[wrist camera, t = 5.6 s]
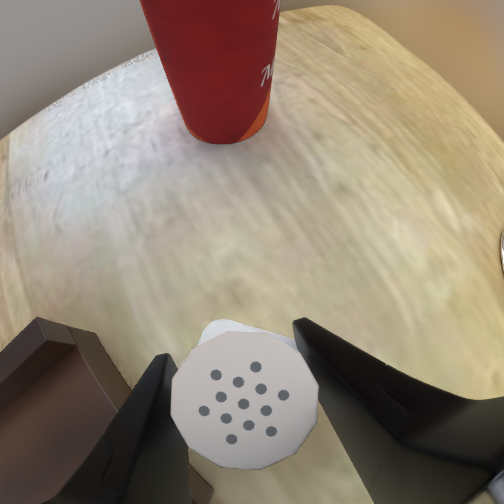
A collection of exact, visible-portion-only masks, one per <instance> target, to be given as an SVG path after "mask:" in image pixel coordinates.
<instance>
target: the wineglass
mask: <svg viewBox="0 0 504 504" xmlns="http://www.w3.org/2000/svg"><path fill="white" fill-rule="evenodd" d="M500 249H501V260H502V267H503V270H504V230H503V233H502V237H501V246H500Z"/></svg>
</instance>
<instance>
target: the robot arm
mask: <svg viewBox="0 0 504 504" xmlns="http://www.w3.org/2000/svg"><path fill="white" fill-rule="evenodd" d="M292 324H293V330H294V337H295V342H296V346H297V349H298V352H300V353H301V355H302V357H303V359H304V360H305V362H306V364H307V366H308V367H309V369H310V371H311V373H312V375H313V376H314V378H315V380H316V382H317V384H318V385H319V388H318V400H319V402H320V404H321V406H322V407H323V409H324V411H325V413H326V415H327V417H328V419H329V420H330V422H331V424H332V426H333V428H334V430H335V432H336V434H337V435H338V437H339V439H340V441H341V443H342V445H343V446H344V448H345V450H346V452H347V454H348V456H349V458H350V459H351V461H352V463H353V465H354V467H355V469H356V470H357V472H358V474H359V476H360V478H361V480H362V481H363V483H364V485H365V487H366V489H367V491H368V492H369V494H370V496H371V498H372V500H373V502H374V503H375V504H504V397H498V398H492V399H485V400H472V399H467V398H463V397H460V396H457V395H455V394H452V393H449V392H447V391H444V390H442V389H439V388H437V387H434V386H431V385H429V384H426V383H424V382H422V381H419V380H417V379H415V378H413V377H410V376H408V375H406V374H404V373H402V372H401V371H399V370H397V369H395V368H393V367H391V366H390V365H386V364H385V363H384V362H382V361H380V360H379V359H377V358H375V357H373V356H372V355H370V354H368V353H366V352H365V351H363V350H361V349H359V348H357V347H356V346H354V345H352V344H351V343H349V342H347V341H345V340H344V339H342V338H340V337H338V336H337V335H335V334H333V333H331V332H330V331H328V330H326V329H325V328H323V327H321V326H319V325H318V324H316V323H314V322H313V321H311V320H309V319H308V318H305V317H304V318H300V319H297V320H294V321H293V323H292ZM177 371H178V369H177V367H176V365H175V363H174V361H173V359H172V357H171V356H170V354H168V353H165V354H160V355H157V356H155V358H154V359H153V361H152V362H151V364H150V365H149V366H148V368H147V369H146V371H145V372H144V374H143V375H142V377H141V378H140V380H139V381H138V383H137V384H136V385H135V387H134V388H133V390H132V391H131V393H130V394H129V396H128V397H127V399H126V400H125V402H124V403H123V405H122V406H121V408H120V409H119V411H118V412H117V414H116V415H115V417H114V418H113V420H112V421H111V423H110V424H109V426H108V427H107V429H106V430H105V432H104V434H103V435H102V436H101V438H100V439H99V441H98V442H97V444H96V445H95V446H94V448H93V449H92V451H91V452H90V454H89V455H88V456H87V457H86V459H85V460H84V461H83V463H82V464H81V465H80V466H79V468H78V469H77V470H76V471H75V473H74V474H73V475H72V476H71V477H70V479H69V480H68V481H67V482H66V483H65V485H64V486H63V487H62V488H61V490H60V491H59V492H58V493H57V494H56V495H55V496H54V497H52V498H51V499H49V500H47V501H45V502H43V503H40V504H192V501H191V489H190V476H189V460H188V446H187V444H186V442H185V440H184V439H183V437H182V435H181V433H180V431H179V430H178V428H177V426H176V424H175V422H174V420H173V419H172V417H171V391H172V378H173V377H174V375H175V374H176V372H177Z"/></svg>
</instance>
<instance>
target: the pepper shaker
mask: <svg viewBox="0 0 504 504" xmlns="http://www.w3.org/2000/svg"><path fill="white" fill-rule="evenodd" d="M318 388H319V385H318V384H317V382H316V380H315V378H314V376H313V375H312V373H311V371H310V369H309V367H308V366H307V364H306V362H305V360H304V359H303V357H302V355H301V353H300V352H298V349H297V346H296V342H295V339H293V338H290V337H286V336H283V335H280V334H276V333H273V332H270V331H266V330H263V329H259V328H256V327H253V326H249V325H246V324H242V323H239V322H235V321H232V320H228V319H220V320H213V321H212V322H211V323H210V324H209V325H208V326H207V327H206V328H205V329H204V330H203V332H202V334H201V337H200V339H199V342H198V345H197V346H196V347H194V348H192V350H191V351H190V353H189V354H188V356H187V357H186V359H185V360H184V362H183V363H182V365H181V366H180V368H179V369H178V371H177V372H176V374H175V375H174V377H173V378H172V391H171V417H172V419H173V420H174V422H175V424H176V426H177V428H178V430H179V431H180V433H181V435H182V437H183V439H184V440H185V442H186V444H187V446H188V447H189V448H190V449H192V450H193V451H195V452H196V453H198V454H199V455H201V456H203V457H204V458H206V459H208V460H209V461H211V462H213V463H214V464H216V465H218V466H219V467H221V468H232V469H250V470H261V469H264V468H266V467H268V466H270V465H272V464H275V463H277V462H279V461H281V460H283V459H285V458H287V457H289V456H291V455H293V454H295V453H296V452H297V451H298V449H299V448H300V446H301V445H302V444H303V442H304V441H305V439H306V438H307V436H308V435H309V433H310V432H311V431H312V429H313V428H314V426H315V425H316V423H317V411H318Z"/></svg>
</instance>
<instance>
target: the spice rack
mask: <svg viewBox="0 0 504 504" xmlns="http://www.w3.org/2000/svg"><path fill="white" fill-rule="evenodd" d="M130 393H131V390H130V388H129V387H128V385H127V384H126V382H125V381H124V379H123V378H122V376H121V375H120V373H119V372H118V370H117V369H116V367H115V366H114V364H113V362H112V361H111V359H110V358H109V356H108V354H107V353H106V351H105V350H104V348H103V346H102V345H101V343H100V341H99V340H98V338H97V336H96V334H95V333H93V332H89V331H85V330H81V329H77V328H73V327H70V326H66V325H63V324H60V323H56V322H53V321H49V320H46V319H42V318H39V317H36V318H35V319H34V320H33V321H32V322H31V323H30V324H29V325H28V326H27V327H26V328H24V329H23V330H22V331H21V332H20V333H19V334H18V335H17V336H16V337H15V338H14V339H13V340H12V341H11V342H10V343H9V344H8V345H7V346H6V347H5V348H4V349H3V350H2V351H1V352H0V504H40V503H43V502H45V501H47V500H49V499H51V498H52V497H54V496H55V495H56V494H57V493H58V492H59V491H60V490H61V488H62V487H63V486H64V485H65V483H66V482H67V481H68V480H69V479H70V477H71V476H72V475H73V474H74V473H75V471H76V470H77V469H78V468H79V466H80V465H81V464H82V463H83V461H84V460H85V459H86V457H87V456H88V455H89V454H90V452H91V451H92V449H93V448H94V446H95V445H96V444H97V442H98V441H99V439H100V438H101V436H102V435H103V434H104V432H105V430H106V429H107V427H108V426H109V424H110V423H111V421H112V420H113V418H114V417H115V415H116V414H117V412H118V411H119V409H120V408H121V406H122V405H123V403H124V402H125V400H126V399H127V397H128V396H129V394H130ZM189 476H190V489H191V501H192V504H209V502H210V500H211V497H212V494H213V492H214V489H213V488H212V487H211V486H210V485H209V484H208V483H207V482H206V481H205V480H204V479H203V478H202V477H201V476H200V475H199V474H198V473H197V472H196V471H195V470H194V468H193V467H192V466H191V465H190V464H189Z"/></svg>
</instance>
